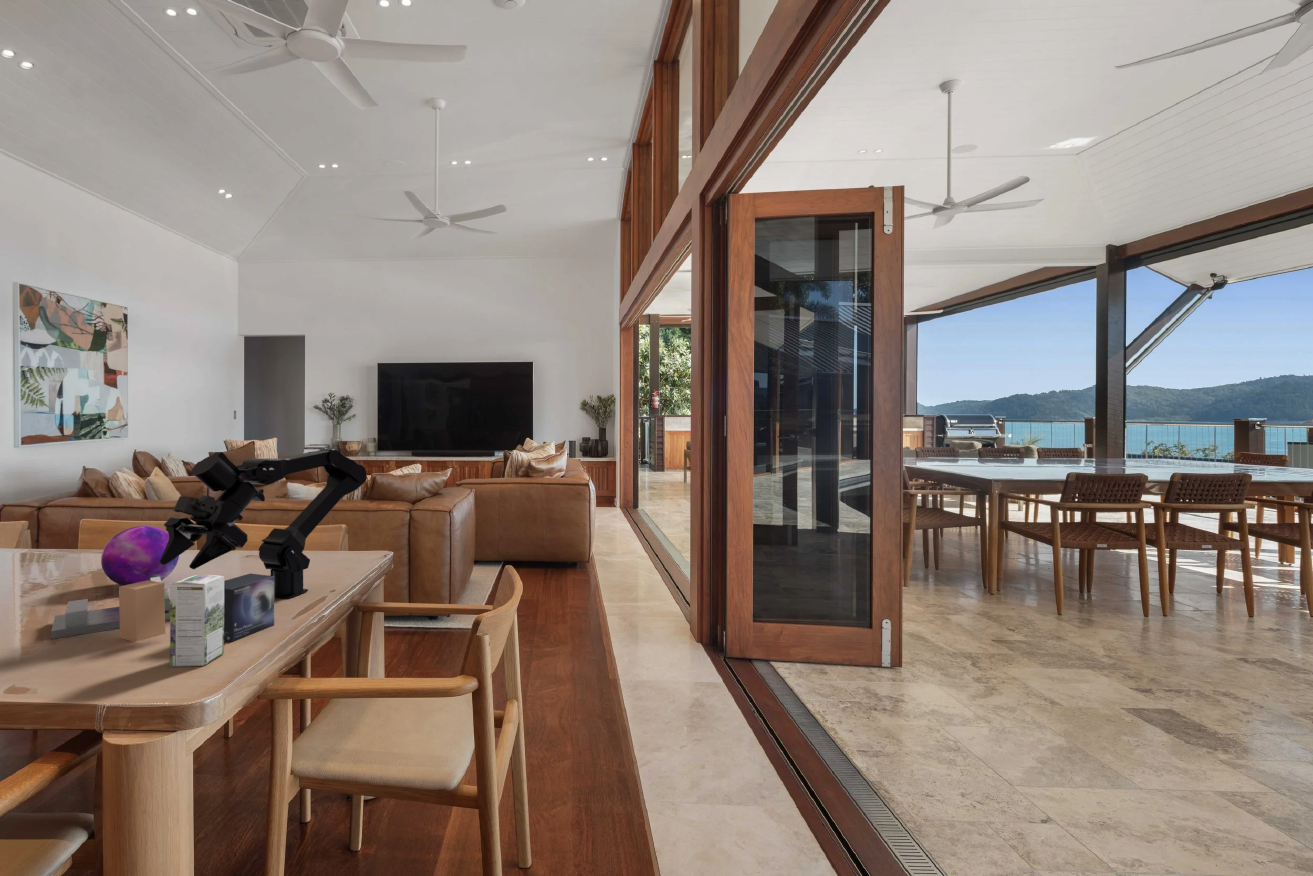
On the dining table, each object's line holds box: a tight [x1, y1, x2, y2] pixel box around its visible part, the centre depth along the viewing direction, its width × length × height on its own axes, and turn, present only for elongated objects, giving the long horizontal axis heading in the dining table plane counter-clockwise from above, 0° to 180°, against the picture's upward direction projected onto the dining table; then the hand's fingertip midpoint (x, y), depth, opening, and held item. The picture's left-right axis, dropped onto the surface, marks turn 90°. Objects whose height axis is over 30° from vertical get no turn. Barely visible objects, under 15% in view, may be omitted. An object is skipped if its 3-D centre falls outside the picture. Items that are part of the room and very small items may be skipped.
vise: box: [50, 598, 170, 640], centre depth 132 cm, size 22×12×4 cm, turn 131°
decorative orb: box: [100, 525, 180, 586], centre depth 157 cm, size 15×15×15 cm
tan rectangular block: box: [118, 580, 166, 642], centre depth 122 cm, size 5×5×10 cm
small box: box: [224, 572, 275, 643], centre depth 125 cm, size 11×6×10 cm, turn 168°
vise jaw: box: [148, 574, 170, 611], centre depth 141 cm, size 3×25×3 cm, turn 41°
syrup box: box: [169, 574, 225, 667], centre depth 110 cm, size 6×6×14 cm
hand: (176, 566), depth 128 cm, fingers open, 9 cm apart
